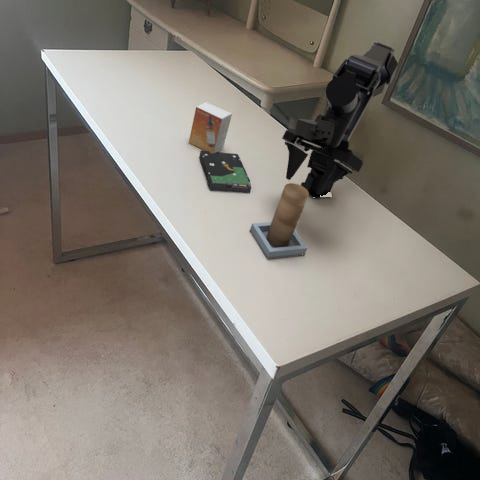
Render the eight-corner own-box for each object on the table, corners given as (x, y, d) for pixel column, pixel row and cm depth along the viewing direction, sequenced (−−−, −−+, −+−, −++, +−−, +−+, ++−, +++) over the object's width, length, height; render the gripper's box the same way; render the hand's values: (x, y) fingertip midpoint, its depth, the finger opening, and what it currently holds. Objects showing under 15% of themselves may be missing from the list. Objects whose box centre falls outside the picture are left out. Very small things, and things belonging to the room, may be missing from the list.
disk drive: (197, 159, 118) (209, 192, 107) (199, 150, 116) (211, 182, 105) (235, 162, 121) (250, 194, 111) (238, 153, 120) (253, 185, 109)
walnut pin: (278, 231, 100) (296, 181, 92) (293, 245, 98) (313, 195, 90) (261, 236, 97) (279, 185, 89) (276, 251, 95) (296, 200, 87)
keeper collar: (285, 228, 103) (288, 221, 101) (304, 255, 97) (307, 248, 95) (249, 230, 99) (252, 223, 97) (267, 259, 93) (269, 251, 91)
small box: (188, 143, 122) (195, 106, 115) (199, 136, 126) (206, 100, 120) (213, 155, 120) (222, 118, 114) (223, 148, 124) (232, 112, 118)
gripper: (283, 92, 96) (250, 160, 98) (352, 111, 83) (311, 189, 85) (313, 114, 104) (281, 177, 106) (380, 135, 91) (342, 205, 93)
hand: (302, 186), depth 97 cm, fingers open, 9 cm apart
